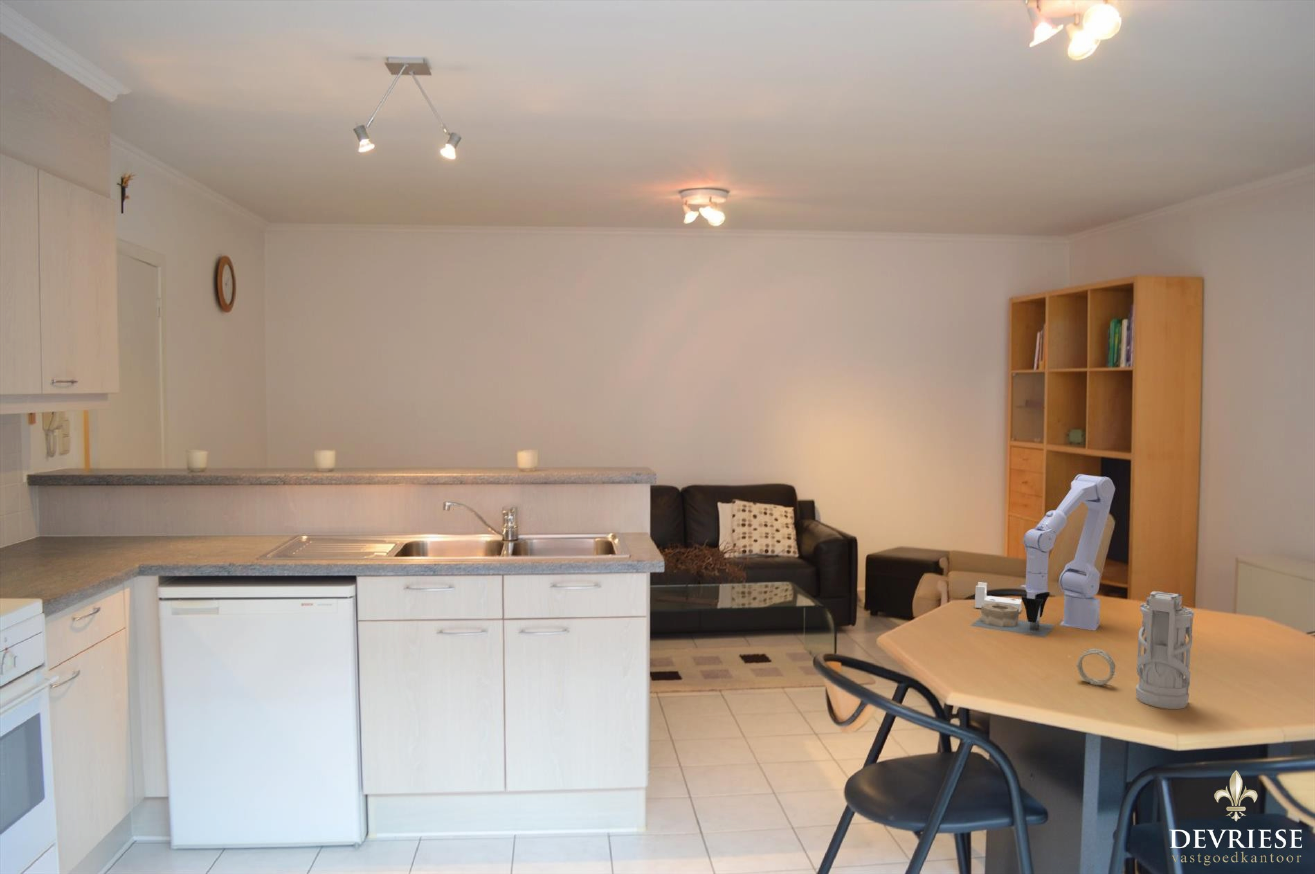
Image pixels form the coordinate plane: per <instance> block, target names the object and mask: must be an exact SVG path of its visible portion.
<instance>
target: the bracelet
mask: <svg viewBox="0 0 1315 874" xmlns="http://www.w3.org/2000/svg"><path fill="white" fill-rule="evenodd" d="M1089 655H1097V656H1100V657H1102V658H1103V659H1104V660H1105V661H1106V662H1107V664H1108V666H1109V676H1108V677H1106V678H1105V679H1096V678H1093V677H1090V675H1088V674H1086V672H1085V671H1084V668H1083V660H1084V658H1085V657H1087V656H1089ZM1076 667H1077V671H1078V674H1079V676H1080V677H1081V678H1082V679H1083V680H1084V681H1085V682H1087V683H1089V684H1091V685H1094V686H1104V685H1106V684H1107V683H1109V682H1110V681H1112V679H1113V678H1114V676H1115V672H1116V663H1115V660H1114V659H1113V657H1112V656H1111V655H1110V654H1109V653H1108V652H1106V651H1105V650H1102V649H1099V648H1090V649H1087V650H1086V651H1084V652H1083V653H1082V655H1080V657H1078V662H1077V663H1076Z"/></svg>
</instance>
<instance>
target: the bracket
mask: <svg viewBox="0 0 1315 874" xmlns="http://www.w3.org/2000/svg"><path fill="white" fill-rule="evenodd" d="M987 593H988V583H987V582H981V581H978V582H977V585H975V593H974V594H975V596H974V599H975V600H974V608H977V609H981V607H982V605H984V604H989V603H999V604H1006V605H1012V606H1014V607H1017V608H1019V614H1020V613H1021V611H1022V604H1023V601H1022V599H1021V598H1019V599H1018V598H1012V597H1002V596H994V595H993V596H992V595H987Z"/></svg>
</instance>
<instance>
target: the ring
mask: <svg viewBox="0 0 1315 874" xmlns="http://www.w3.org/2000/svg"><path fill="white" fill-rule="evenodd" d="M980 609H981V610H980V611H981V612H980V614H981V615H980V618H981V622H984V623H986V624H988V625H993V626H1000V627H1015V626H1016V625H1017V624H1018V620H1019V615H1020V613H1019V608H1017V607H1014V606H1012V605H1006V604H999V603H989V604H984V605H982V607H981V608H980Z"/></svg>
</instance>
